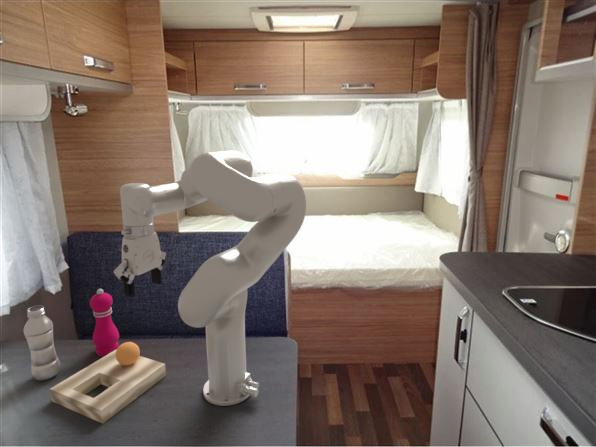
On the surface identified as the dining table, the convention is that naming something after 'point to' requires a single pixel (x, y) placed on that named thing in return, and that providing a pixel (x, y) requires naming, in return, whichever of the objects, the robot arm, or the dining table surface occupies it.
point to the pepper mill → (104, 324)
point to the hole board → (110, 373)
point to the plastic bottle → (41, 344)
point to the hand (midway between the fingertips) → (143, 289)
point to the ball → (127, 353)
